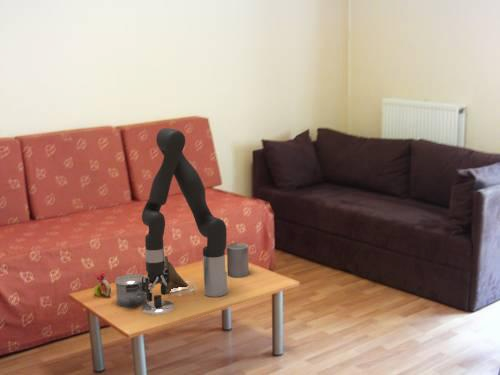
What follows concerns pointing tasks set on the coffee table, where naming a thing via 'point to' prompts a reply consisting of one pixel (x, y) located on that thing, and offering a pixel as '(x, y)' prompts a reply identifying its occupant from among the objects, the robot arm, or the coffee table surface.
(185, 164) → the robot arm
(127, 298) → the cooker pot
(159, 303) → the cooker lid
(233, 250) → the pillar candle
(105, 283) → the bird rattle
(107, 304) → the coffee table surface
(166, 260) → the worn brown figurine
